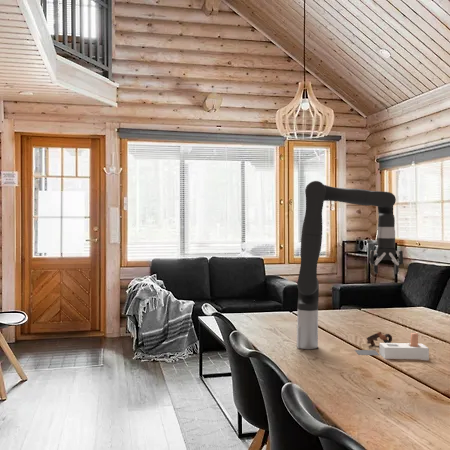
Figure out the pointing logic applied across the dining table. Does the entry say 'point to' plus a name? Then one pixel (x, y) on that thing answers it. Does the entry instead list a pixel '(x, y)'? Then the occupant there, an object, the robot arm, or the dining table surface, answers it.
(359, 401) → the dining table surface
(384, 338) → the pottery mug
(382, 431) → the dining table surface
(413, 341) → the dowel
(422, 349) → the socket block
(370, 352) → the mat
